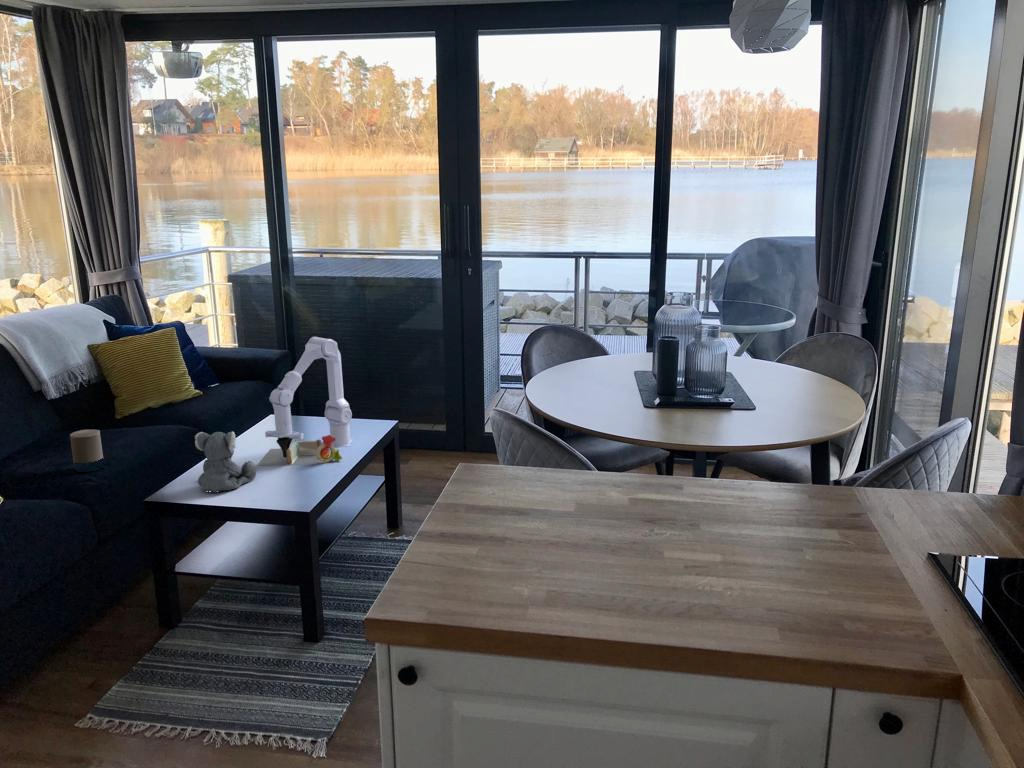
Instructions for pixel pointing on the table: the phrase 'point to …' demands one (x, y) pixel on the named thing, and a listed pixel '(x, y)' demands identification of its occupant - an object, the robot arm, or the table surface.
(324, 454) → the bird rattle
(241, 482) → the koala plush
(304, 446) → the fence fixed section
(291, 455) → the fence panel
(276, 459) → the board
